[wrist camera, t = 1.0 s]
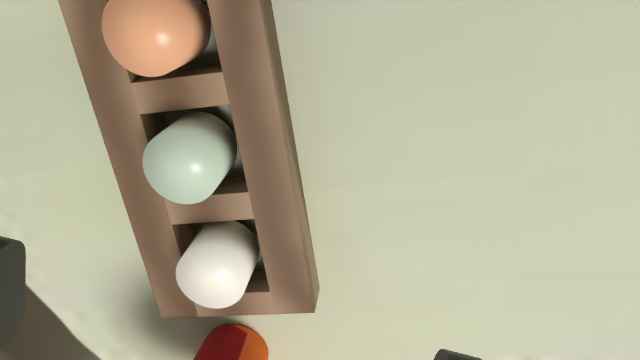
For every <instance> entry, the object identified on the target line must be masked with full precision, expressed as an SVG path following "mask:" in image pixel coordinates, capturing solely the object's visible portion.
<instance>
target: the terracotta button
mask: <svg viewBox="0 0 640 360" xmlns="http://www.w3.org/2000/svg"><path fill="white" fill-rule="evenodd" d="M102 33H103V37H104V40H105V43H106V45H107V47H108V49H109V51H110V53H111V54H112V56H113V57H114V58H115V59H116V61H117V62H118V63H119V64H121V65H122V66H123V67H124V68H126V69H127V70H129V71H131V72H133V73H135V74H137V75H140V76H145V77H157V76H162V75H165V74H167V73H169V72H171V71H173V70H175V69H177V68H179V67H181V66H182V65H184V64H186V63H188V62H190V61H192V60H194V59H196V58H197V57H198V56H200V55H201V54H202V53H203V51H204V50H205V48H206V46H207V45H208V42H209V39H210V34H211V23H210V18H209V14H208V12H207V9H206V7H205V5H204V3H203V2H202V1H201V0H108V2H107V4H106V6H105V8H104V11H103V15H102Z"/></svg>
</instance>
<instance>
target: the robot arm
mask: <svg viewBox="0 0 640 360" xmlns="http://www.w3.org/2000/svg"><path fill="white" fill-rule="evenodd" d="M25 261H26V253H25V247H24V244H23V243H22V242H20V241H18V240H14V239H10V238H6V237H2V236H0V350H1V349H2V348H3V347H4V346H5V345H6V344H7V343H8V342H9V341H10V340H11V338H12V337H13V336H14V335H15V333H16V331H17V330H18V328H19V326H20V323H21V321H22V319H23V315H24V311H25ZM434 360H482V359H480V358H477V357H473V356H469V355H465V354H461V353H457V352H453V351H449V350H445V349H441V350H439V351H438V352H437V354H436V356H435V358H434Z"/></svg>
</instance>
